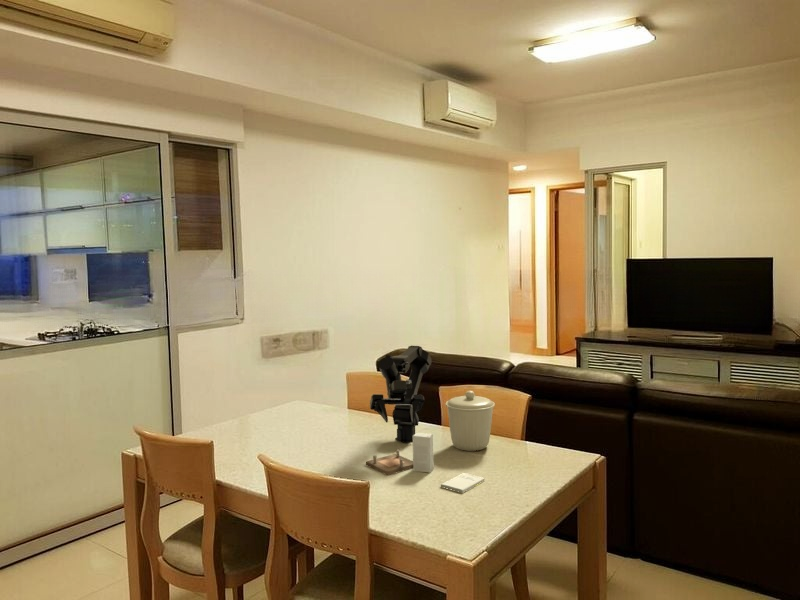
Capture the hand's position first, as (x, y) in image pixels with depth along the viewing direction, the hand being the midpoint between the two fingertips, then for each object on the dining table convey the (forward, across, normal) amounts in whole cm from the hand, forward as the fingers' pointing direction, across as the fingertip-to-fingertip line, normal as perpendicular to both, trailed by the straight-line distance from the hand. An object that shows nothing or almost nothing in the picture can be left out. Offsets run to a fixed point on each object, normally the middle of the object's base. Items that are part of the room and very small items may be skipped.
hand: (400, 421), depth 209 cm
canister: (0, +30, +16) cm, 34 cm away
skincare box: (+16, +7, +5) cm, 18 cm away
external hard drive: (+28, +16, -4) cm, 32 cm away
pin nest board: (+11, -3, +10) cm, 15 cm away
